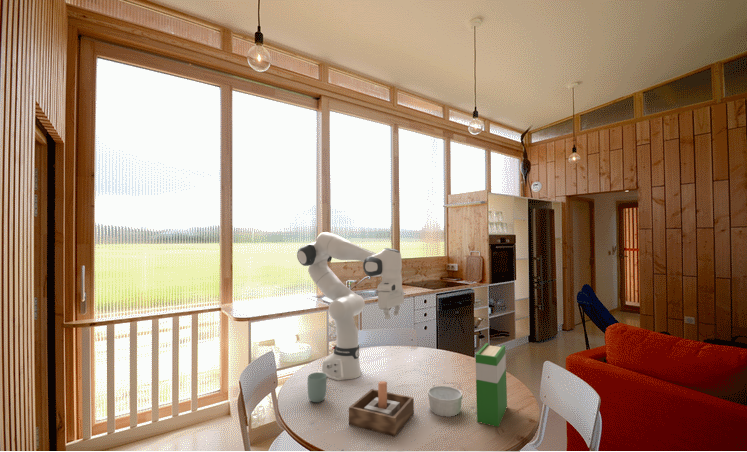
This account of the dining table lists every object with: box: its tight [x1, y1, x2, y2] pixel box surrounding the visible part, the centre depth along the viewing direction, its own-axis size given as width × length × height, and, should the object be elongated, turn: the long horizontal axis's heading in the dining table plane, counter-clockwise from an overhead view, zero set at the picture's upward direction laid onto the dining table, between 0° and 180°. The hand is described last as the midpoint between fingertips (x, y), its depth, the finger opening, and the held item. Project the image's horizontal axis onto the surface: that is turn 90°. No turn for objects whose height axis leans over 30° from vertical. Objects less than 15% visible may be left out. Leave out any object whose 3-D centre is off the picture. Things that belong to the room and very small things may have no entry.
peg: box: [377, 380, 388, 409], centre depth 126 cm, size 3×3×12 cm
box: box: [348, 388, 415, 438], centre depth 126 cm, size 18×18×6 cm
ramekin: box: [427, 385, 463, 418], centre depth 132 cm, size 13×13×7 cm
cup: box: [307, 372, 328, 403], centre depth 141 cm, size 8×8×10 cm
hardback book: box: [475, 342, 508, 428], centre depth 130 cm, size 18×7×24 cm, turn 149°
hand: (392, 316), depth 149 cm, fingers open, 8 cm apart
